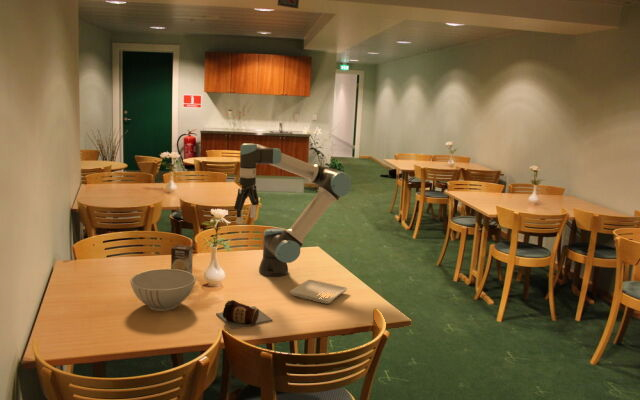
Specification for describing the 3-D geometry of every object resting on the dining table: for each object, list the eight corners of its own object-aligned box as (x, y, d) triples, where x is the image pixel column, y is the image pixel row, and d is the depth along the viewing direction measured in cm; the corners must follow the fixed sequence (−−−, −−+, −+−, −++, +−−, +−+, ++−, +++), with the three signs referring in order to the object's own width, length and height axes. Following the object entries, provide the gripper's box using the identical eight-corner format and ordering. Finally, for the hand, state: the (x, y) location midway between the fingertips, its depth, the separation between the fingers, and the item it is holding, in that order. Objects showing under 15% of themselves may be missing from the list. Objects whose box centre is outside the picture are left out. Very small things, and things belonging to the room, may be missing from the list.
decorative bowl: (136, 322, 224) (136, 293, 221) (125, 298, 247) (125, 272, 245) (202, 313, 236) (203, 285, 234) (186, 291, 259) (186, 266, 257)
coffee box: (170, 279, 273) (170, 248, 270) (174, 275, 279) (175, 244, 276) (188, 281, 272) (188, 249, 269) (192, 277, 278) (193, 246, 275)
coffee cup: (254, 309, 222) (223, 301, 224) (250, 329, 222) (220, 321, 225) (261, 304, 230) (231, 297, 233) (257, 324, 231) (228, 317, 233)
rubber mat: (254, 307, 245) (254, 306, 245) (272, 320, 232) (272, 319, 232) (216, 314, 235) (216, 313, 235) (232, 329, 222) (232, 327, 222)
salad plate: (348, 293, 269) (348, 286, 269) (329, 308, 251) (330, 300, 250) (308, 285, 278) (309, 278, 277) (288, 298, 259) (288, 291, 259)
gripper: (242, 181, 250) (240, 227, 254) (266, 174, 273) (265, 216, 277) (227, 179, 252) (226, 225, 256) (252, 172, 275) (251, 214, 279)
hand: (246, 220), depth 267 cm, fingers open, 13 cm apart
